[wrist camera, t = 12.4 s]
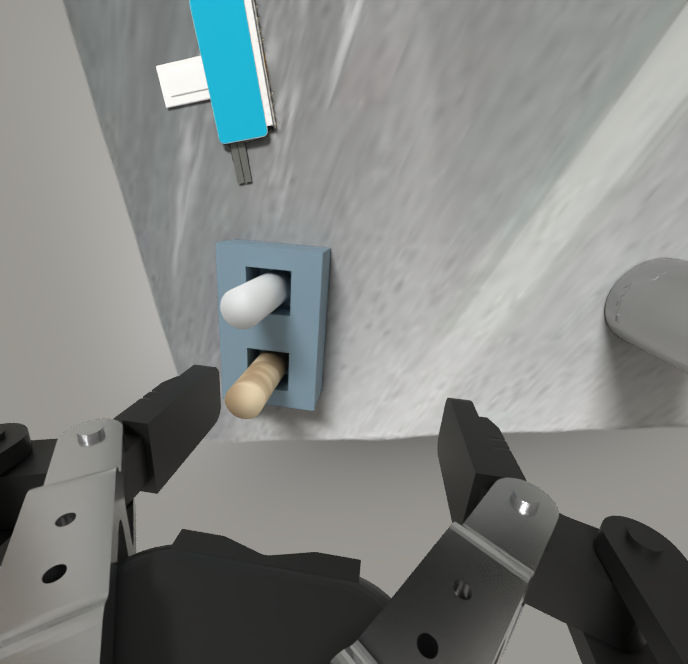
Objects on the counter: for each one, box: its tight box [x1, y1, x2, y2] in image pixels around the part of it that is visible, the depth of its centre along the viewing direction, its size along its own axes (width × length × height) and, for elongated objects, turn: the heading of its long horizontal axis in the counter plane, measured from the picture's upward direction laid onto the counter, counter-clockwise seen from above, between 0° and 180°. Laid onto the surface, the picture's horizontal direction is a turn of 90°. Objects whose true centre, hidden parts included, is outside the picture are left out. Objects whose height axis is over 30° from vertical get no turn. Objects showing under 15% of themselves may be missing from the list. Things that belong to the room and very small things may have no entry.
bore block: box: [215, 239, 331, 411], centre depth 36 cm, size 11×18×12 cm, turn 175°
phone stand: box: [156, 0, 277, 184], centre depth 33 cm, size 20×12×2 cm, turn 7°
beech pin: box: [225, 350, 289, 419], centre depth 37 cm, size 4×4×11 cm
